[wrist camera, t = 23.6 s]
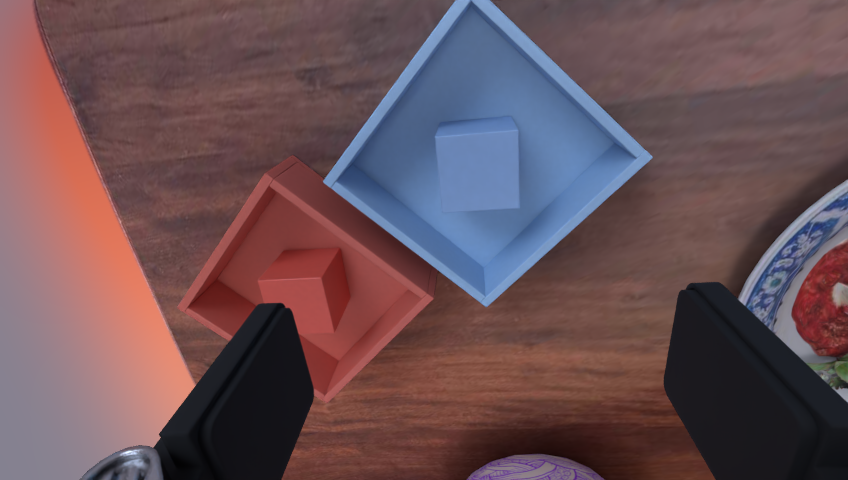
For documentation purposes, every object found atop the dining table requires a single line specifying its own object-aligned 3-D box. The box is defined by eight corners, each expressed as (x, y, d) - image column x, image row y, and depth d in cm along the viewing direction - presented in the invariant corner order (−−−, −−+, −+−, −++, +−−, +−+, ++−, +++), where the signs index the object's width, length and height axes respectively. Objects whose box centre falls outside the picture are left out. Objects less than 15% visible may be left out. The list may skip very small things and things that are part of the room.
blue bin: (342, 162, 29) (322, 182, 25) (469, -10, 24) (469, -20, 20) (484, 273, 32) (486, 307, 28) (625, 139, 27) (653, 157, 23)
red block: (296, 300, 34) (273, 335, 30) (283, 250, 32) (256, 280, 28) (350, 298, 34) (334, 333, 30) (340, 247, 32) (321, 277, 28)
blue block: (445, 189, 29) (441, 213, 25) (439, 122, 27) (434, 136, 23) (512, 184, 28) (519, 208, 24) (511, 115, 27) (519, 129, 23)
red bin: (210, 276, 35) (176, 308, 31) (292, 154, 30) (264, 172, 25) (342, 364, 37) (327, 403, 33) (438, 266, 32) (434, 298, 28)
